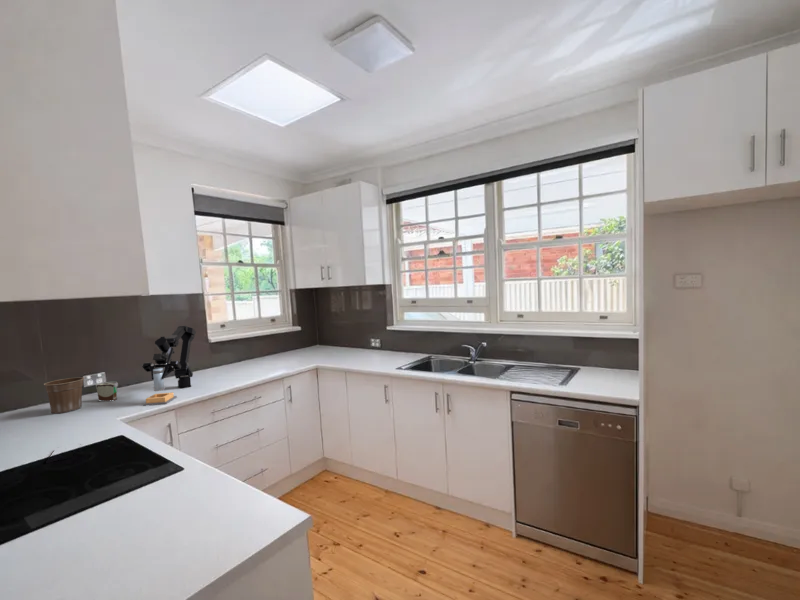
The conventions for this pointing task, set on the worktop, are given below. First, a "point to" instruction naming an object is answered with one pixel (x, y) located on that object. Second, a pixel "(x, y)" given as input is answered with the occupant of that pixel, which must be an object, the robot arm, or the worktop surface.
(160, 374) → the canister
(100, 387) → the food container
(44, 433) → the worktop surface
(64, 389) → the plant pot
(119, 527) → the worktop surface
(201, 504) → the worktop surface
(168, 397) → the dock
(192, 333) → the robot arm
